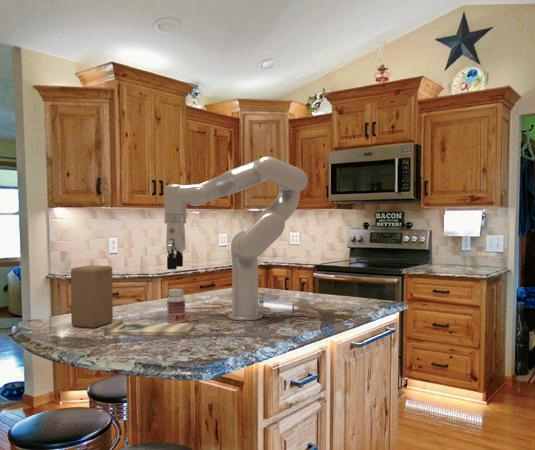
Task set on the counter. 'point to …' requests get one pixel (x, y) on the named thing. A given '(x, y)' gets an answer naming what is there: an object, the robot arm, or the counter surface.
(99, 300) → the wooden block
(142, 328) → the board
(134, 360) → the counter surface
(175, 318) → the pill bottle
